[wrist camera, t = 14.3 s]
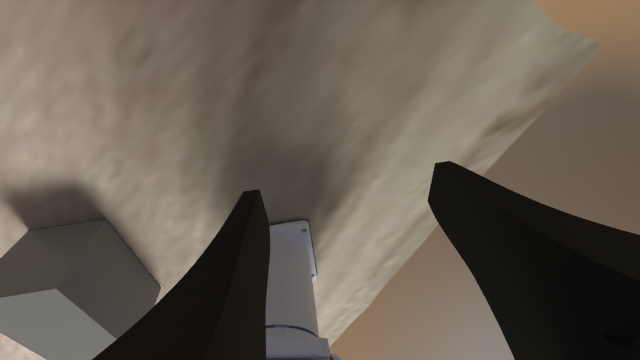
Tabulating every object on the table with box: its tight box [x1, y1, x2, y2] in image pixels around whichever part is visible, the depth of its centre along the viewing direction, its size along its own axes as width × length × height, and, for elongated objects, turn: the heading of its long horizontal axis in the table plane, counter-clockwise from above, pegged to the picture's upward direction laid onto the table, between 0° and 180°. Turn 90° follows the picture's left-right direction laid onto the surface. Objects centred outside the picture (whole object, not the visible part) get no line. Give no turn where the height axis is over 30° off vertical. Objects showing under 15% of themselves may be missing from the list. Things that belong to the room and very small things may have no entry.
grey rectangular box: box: [0, 219, 161, 360], centre depth 22 cm, size 10×6×6 cm, turn 5°
